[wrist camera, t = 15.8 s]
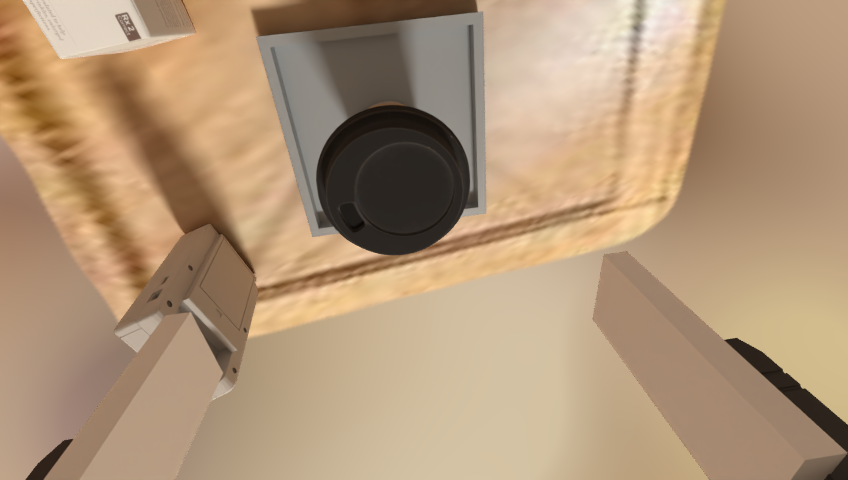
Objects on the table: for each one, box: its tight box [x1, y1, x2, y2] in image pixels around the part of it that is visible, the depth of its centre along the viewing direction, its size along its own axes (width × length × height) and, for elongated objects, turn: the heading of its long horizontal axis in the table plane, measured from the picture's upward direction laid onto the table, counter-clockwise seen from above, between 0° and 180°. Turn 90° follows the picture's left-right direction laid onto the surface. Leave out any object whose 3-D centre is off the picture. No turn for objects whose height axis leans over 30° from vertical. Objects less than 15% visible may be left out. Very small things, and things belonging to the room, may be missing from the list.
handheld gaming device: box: [114, 224, 258, 400], centre depth 33 cm, size 9×15×4 cm
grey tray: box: [256, 12, 486, 237], centre depth 34 cm, size 18×18×2 cm
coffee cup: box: [316, 101, 470, 255], centre depth 28 cm, size 9×9×15 cm
